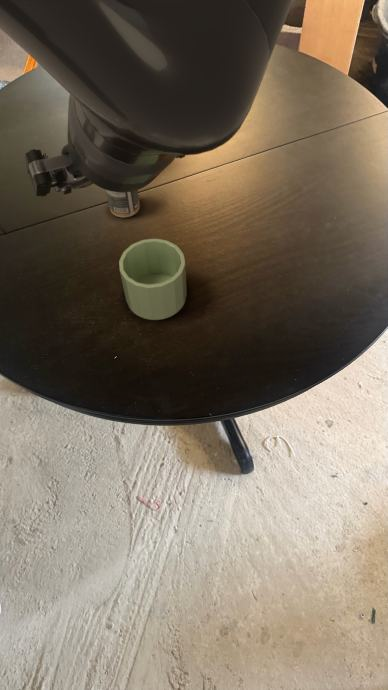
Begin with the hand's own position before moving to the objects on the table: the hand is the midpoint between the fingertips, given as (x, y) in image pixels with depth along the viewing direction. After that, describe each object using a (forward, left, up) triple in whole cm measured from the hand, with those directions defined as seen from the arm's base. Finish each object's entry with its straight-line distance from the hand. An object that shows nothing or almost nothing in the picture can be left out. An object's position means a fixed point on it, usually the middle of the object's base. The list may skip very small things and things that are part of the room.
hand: (105, 171), depth 47 cm
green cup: (+3, +9, -31) cm, 32 cm away
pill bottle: (-1, +31, -31) cm, 43 cm away
